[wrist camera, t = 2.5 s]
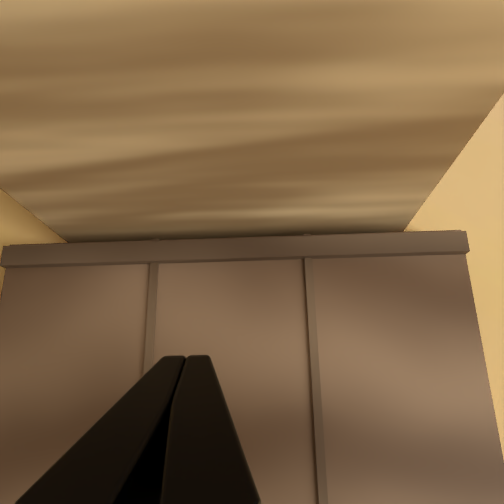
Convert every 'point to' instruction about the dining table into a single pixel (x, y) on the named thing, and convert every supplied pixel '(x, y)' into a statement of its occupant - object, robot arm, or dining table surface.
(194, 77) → the plank
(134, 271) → the wooden panel
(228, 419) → the robot arm
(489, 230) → the dining table surface
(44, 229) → the dining table surface
